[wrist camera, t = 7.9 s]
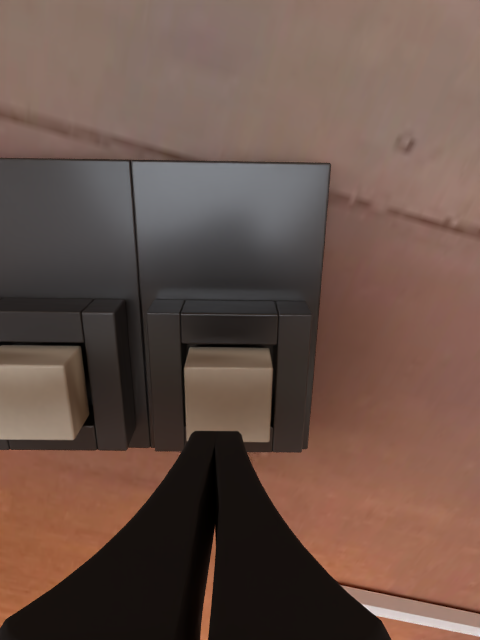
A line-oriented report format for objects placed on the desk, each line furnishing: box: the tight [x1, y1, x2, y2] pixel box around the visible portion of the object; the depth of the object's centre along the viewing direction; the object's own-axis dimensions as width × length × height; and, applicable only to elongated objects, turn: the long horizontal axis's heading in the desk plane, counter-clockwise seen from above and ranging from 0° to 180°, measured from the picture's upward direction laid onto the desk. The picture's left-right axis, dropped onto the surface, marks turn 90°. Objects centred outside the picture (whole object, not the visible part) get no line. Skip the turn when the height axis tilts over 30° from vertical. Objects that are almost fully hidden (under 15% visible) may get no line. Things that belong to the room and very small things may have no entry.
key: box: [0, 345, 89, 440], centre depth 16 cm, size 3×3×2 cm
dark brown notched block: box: [131, 160, 331, 452], centre depth 17 cm, size 12×7×4 cm, turn 179°
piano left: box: [0, 158, 151, 451], centre depth 17 cm, size 12×7×4 cm, turn 179°
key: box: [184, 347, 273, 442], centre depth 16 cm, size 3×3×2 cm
